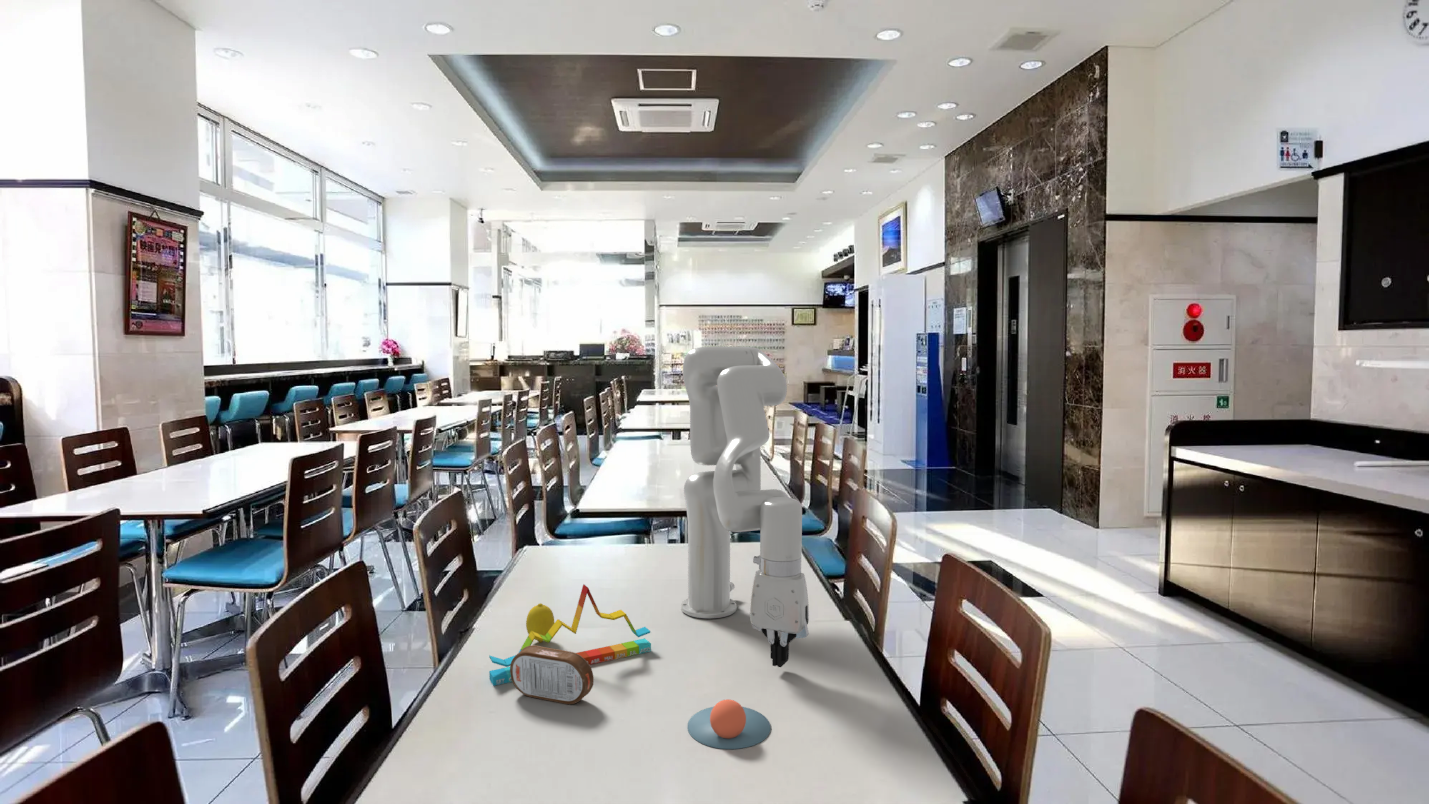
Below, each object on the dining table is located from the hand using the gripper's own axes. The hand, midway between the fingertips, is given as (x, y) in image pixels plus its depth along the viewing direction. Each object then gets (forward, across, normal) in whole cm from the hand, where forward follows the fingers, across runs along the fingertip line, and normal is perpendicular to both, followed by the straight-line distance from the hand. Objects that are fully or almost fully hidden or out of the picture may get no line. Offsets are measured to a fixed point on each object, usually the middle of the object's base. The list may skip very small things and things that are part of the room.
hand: (779, 663), depth 134 cm
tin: (+2, -31, -27) cm, 41 cm away
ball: (-1, +1, -25) cm, 25 cm away
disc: (+2, 0, -22) cm, 22 cm away
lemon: (+2, -48, -9) cm, 49 cm away
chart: (+2, -36, -14) cm, 38 cm away
